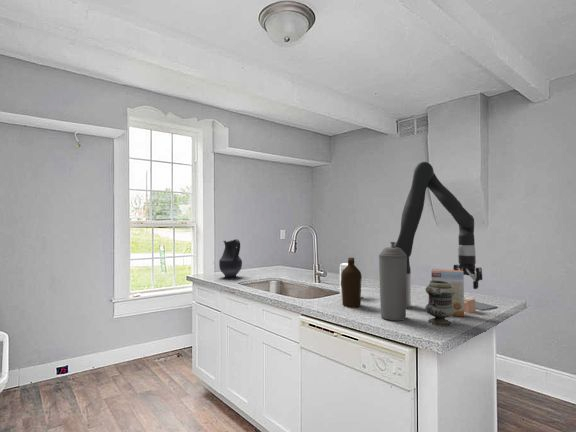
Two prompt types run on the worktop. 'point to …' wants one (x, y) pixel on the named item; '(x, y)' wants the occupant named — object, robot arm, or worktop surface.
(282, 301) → the worktop surface
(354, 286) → the olive oil
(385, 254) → the canister
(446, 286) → the apothecary jar
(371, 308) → the worktop surface
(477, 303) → the charcoal mat
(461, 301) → the cracker box
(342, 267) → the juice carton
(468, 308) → the lettered block
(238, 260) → the pitcher
